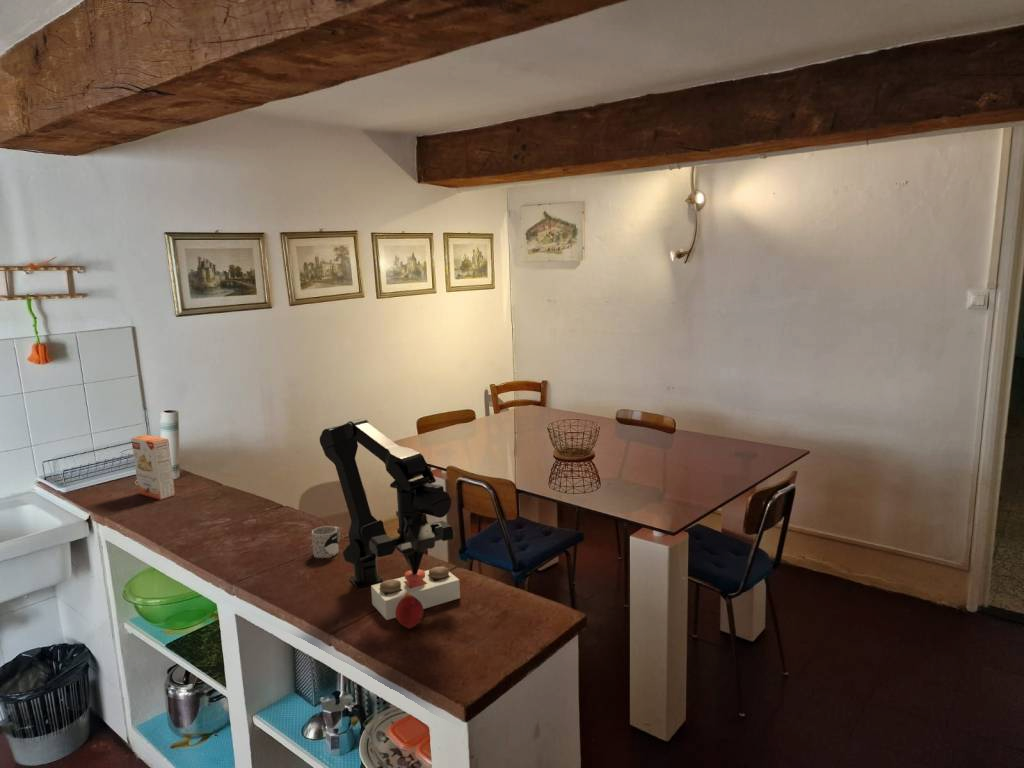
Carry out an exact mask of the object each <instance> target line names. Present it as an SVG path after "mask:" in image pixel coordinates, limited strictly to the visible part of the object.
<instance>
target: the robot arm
mask: <svg viewBox="0 0 1024 768" xmlns="http://www.w3.org/2000/svg"><path fill="white" fill-rule="evenodd" d="M319 443H320V446H321V448H322V451H323V454H324V455H325V457H326V458H327V459H328V460H329V461H331V463H333V464H334V466H335V470H336V473H337V476H338V479H339V483H340V487H341V490H342V493H343V497H344V500H345V503H346V507H347V509H348V514H349V518H350V520H351V522H350V526H349V531H348V533H347V534H348V540H349V544H348V545H347V546H346V548H345V549H344V551H342V554H343V558H344V561H345V562H347V563H349V564H353V566H352V567H353V576H349V580H350V582H351V583H352V584H353V585H354V586H355V587H356V588H357V589H361V588H366V587H368V586H372V585H375V584H379V583H382V582H384V579H383V578H382V577H381V576H380V575H379V573H378V572H379V571H378V563H377V562H378V558H381V557H387V556H389V555H393V553H395V551H396V550H397V551H398V552H399V553H400V554H402V555H403V557H404V559H405V561H406V563H407V564H408V565H407V566H408V568H409V569H410V570H411V572H412V573H413V574H417V572H418V569H419V568H420V565H421V562H422V559H423V556H424V555H425V552H426V551H427V550H428V549H430V550H431V549H434V548H435V546H436V542H438V541H441V540H442V542H445V541H448V540H453V539H455V530H454V527H453V526H452V525H450V524H449V523H447V522H446V521H444V520H439V521H436V522H433V523H429V522H428V519H427V516H430V517H431V516H432V517H435V518H439V519H442V518H444V517H445V516H447V514H448V513H449V511H450V509H451V506H452V498H451V497H450V494H449V493H448V492H447V491H445V490H444V486H443V485H442V484H437V485H436V484H434V483H436V482H437V480H436V478H435V476H434V473H433V472H432V470H431V468H430V467H429V465H428V463H427V462H426V459H425V457H424V455H423V454H422V453H421V452H419V451H417V450H415V449H413V448H411V447H407V446H401V445H399V444H397V443H395V442H394V441H393V440H391V439H390V438H389V437H387V436H386V435H385V434H383V433H382V432H380V430H378V429H376V428H375V427H374V426H373V425H371V424H370V423H369V421H368V420H367V419H366V418H358V419H354V420H349V421H348V422H346V423H344V424H340V425H337V426H332V427H328V428H324V429H323V430H322V431H321V434H320V436H319ZM358 444H360V445H361V446H362V447H364V448H365V449H366V450H367V451H368V452H370V453H371V454H372V455H374V456H375V457H377V458H378V459H379V460H380V461H381V462H383V464H384V466H385V471H386V472H387V473H388V474H389V476H390V477H392V479H393V481H392V482H391V483H390V484H389V486H390V488H392V489H396V497H397V498H396V500H397V510H396V511H395V513H396V515H395V516H396V517H397V518H398V528H397V529H396V530H397V532H396V533H397V534H398V535H399V536H396V537H390V536H389V535H388V533H387V532H386V530H385V527H384V522H383V521H382V520H381V519H379V520H378V519H377V518H376V517H374V516H373V515H372V512H371V508H370V505H369V502H368V497H367V495H366V492H365V491H366V490H365V489H364V484H363V482H362V478H361V475H360V472H359V468H358V465H357V461H356V460H357V459H356V455H357V453H358V452H357V451H358V447H359V445H358ZM421 476H422V477H421ZM419 477H420V478H419ZM416 478H417V479H416Z"/></svg>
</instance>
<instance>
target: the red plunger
mask: <svg viewBox="0 0 1024 768" xmlns="http://www.w3.org/2000/svg"><path fill="white" fill-rule="evenodd" d="M424 571H425V570H423V569H418V572H417V574H413V573H412V572H411V570H408V571H405V573H404V577H405V579H406V580H408V581H409V588H414V587H417V586H421V585H422V579H423V578H424V577H425V572H424Z"/></svg>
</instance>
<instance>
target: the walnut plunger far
mask: <svg viewBox="0 0 1024 768" xmlns="http://www.w3.org/2000/svg"><path fill="white" fill-rule="evenodd" d="M428 570H429V576H430V577H432V578H433V581H439V580H442V579H446V576H448V574H449V572H450V570H449V568H448V567H445V566H443V567H441V566H433V567H432V568H430V569H428Z"/></svg>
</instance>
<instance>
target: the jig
mask: <svg viewBox="0 0 1024 768" xmlns="http://www.w3.org/2000/svg"><path fill="white" fill-rule="evenodd" d="M440 567H444V566H443V565H442V566H440ZM429 570H430V569H427V570H423V571H424V572H425V577H424V578H423V579H422V585H421V586H417V587H414V588H409V581H408V580H406V579H405V576H401V577H398V578H394V579H393V580H398V581H400V582H401V588H400V589H399V590H398V592H396V593H393V594H389V595H386V596H385V595H384V592H383V591H381V590H380V584H381V583H382V582H380V583H377V584H373V585H370V592H371V604H372V606H373V607H374V608H375V609H376V610H377V611H378V612H379V613H380V615H381V616H382V617H383V618H384V619H385V621H389V620H392V619H395V618H396V614H395V612H396V607H397V605H398V603H399V601H400V600H401V599H402V598H404V597H405V593H409V594H410V595H412V596H413V597H415V598H416V599H418V600H419V601H420V602H421V604H422V606H423V610H425V609H428V608H431V607H434V606H438V605H441V604H445V603H448V602H450V601H454V600H458V599H460V598H461V589H460V578H458V577H457V576H455V575H454V574H453V573H452V572H450V571H449V574H448V576H446V579H442V580H439V581H433V578H432V577H430V576H429Z"/></svg>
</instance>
